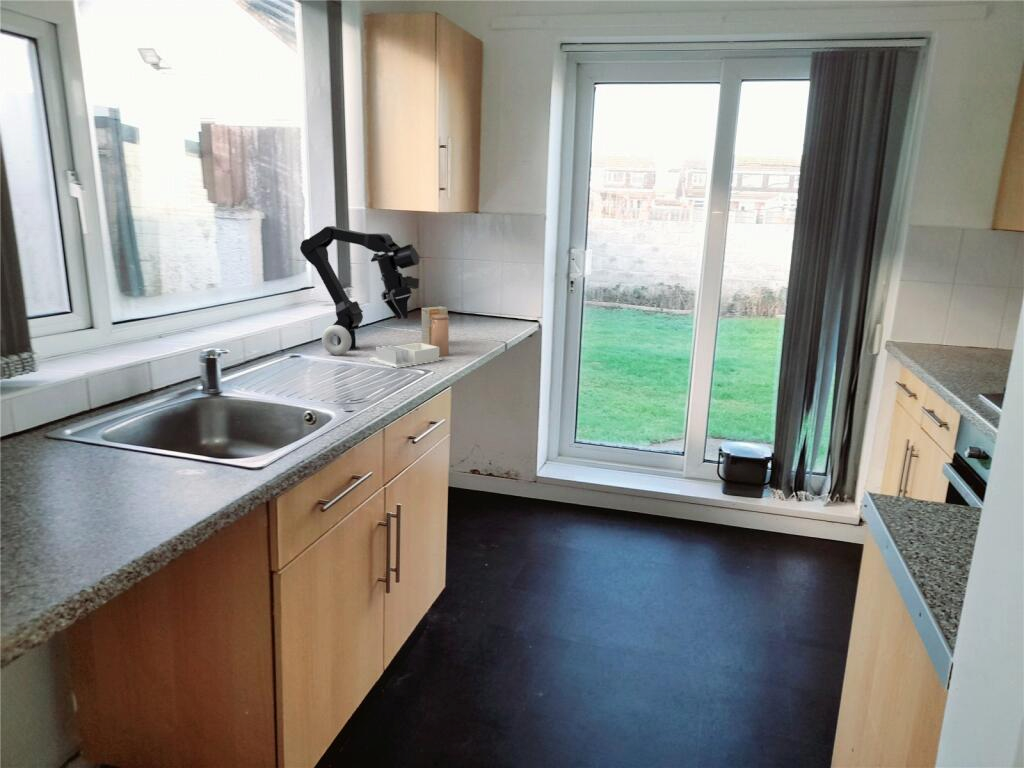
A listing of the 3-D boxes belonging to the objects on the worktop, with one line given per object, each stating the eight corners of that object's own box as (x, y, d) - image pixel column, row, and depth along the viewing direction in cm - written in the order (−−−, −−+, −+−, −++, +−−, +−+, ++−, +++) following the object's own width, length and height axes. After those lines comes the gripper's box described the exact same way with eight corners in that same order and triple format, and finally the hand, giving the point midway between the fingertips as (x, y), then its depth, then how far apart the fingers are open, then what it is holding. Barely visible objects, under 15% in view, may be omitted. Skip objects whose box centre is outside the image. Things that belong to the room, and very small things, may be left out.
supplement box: (429, 346, 249) (428, 309, 246) (421, 344, 253) (420, 307, 250) (448, 343, 255) (448, 307, 251) (440, 341, 258) (440, 305, 255)
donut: (320, 355, 232) (319, 325, 230) (325, 353, 235) (323, 323, 233) (349, 357, 231) (348, 326, 228) (353, 355, 234) (352, 324, 231)
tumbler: (428, 354, 237) (427, 315, 234) (441, 352, 241) (441, 314, 237) (439, 357, 233) (438, 317, 230) (452, 355, 237) (452, 316, 234)
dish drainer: (369, 361, 226) (369, 345, 224) (415, 353, 238) (414, 338, 237) (396, 368, 216) (396, 352, 215) (442, 360, 229) (442, 345, 227)
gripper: (420, 264, 226) (433, 311, 229) (406, 268, 243) (419, 313, 246) (386, 272, 222) (400, 321, 225) (375, 276, 240) (388, 321, 243)
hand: (402, 318), depth 235 cm, fingers open, 9 cm apart
